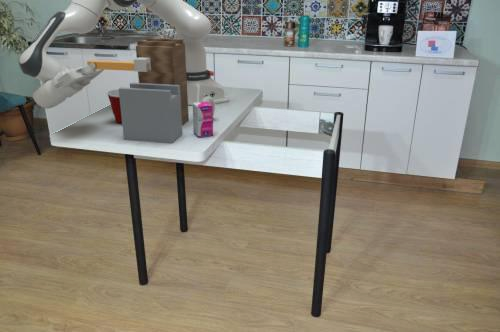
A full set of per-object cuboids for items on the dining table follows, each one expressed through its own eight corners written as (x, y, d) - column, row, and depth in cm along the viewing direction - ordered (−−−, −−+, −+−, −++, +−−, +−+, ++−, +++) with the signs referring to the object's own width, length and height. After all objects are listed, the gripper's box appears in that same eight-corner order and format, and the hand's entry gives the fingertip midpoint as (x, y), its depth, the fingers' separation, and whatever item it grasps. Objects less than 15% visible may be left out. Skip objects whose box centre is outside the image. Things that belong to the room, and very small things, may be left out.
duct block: (123, 139, 167) (118, 88, 160) (136, 130, 176) (132, 82, 169) (172, 143, 163) (168, 91, 156) (182, 134, 172) (179, 85, 165)
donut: (206, 125, 182) (205, 99, 178) (198, 124, 183) (197, 99, 179) (216, 118, 191) (215, 94, 187) (208, 117, 192) (207, 93, 188)
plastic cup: (131, 126, 181) (128, 95, 177) (105, 125, 183) (101, 94, 178) (142, 118, 191) (139, 88, 187) (116, 117, 193) (113, 87, 188)
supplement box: (198, 138, 168) (196, 106, 164) (193, 133, 173) (191, 102, 169) (213, 136, 170) (212, 104, 166) (208, 131, 176) (207, 100, 171)
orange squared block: (86, 69, 164) (85, 57, 162) (93, 67, 167) (91, 55, 166) (145, 71, 159) (144, 59, 157) (150, 69, 163) (149, 57, 161)
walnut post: (142, 126, 181) (135, 41, 169) (155, 118, 191) (149, 37, 179) (177, 129, 177) (172, 43, 166) (188, 120, 188) (184, 38, 176)
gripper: (46, 79, 160) (75, 60, 154) (80, 68, 178) (107, 50, 173) (57, 96, 161) (86, 77, 156) (90, 83, 179) (117, 66, 174)
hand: (98, 63), depth 164 cm, fingers closed on orange squared block, 2 cm apart
